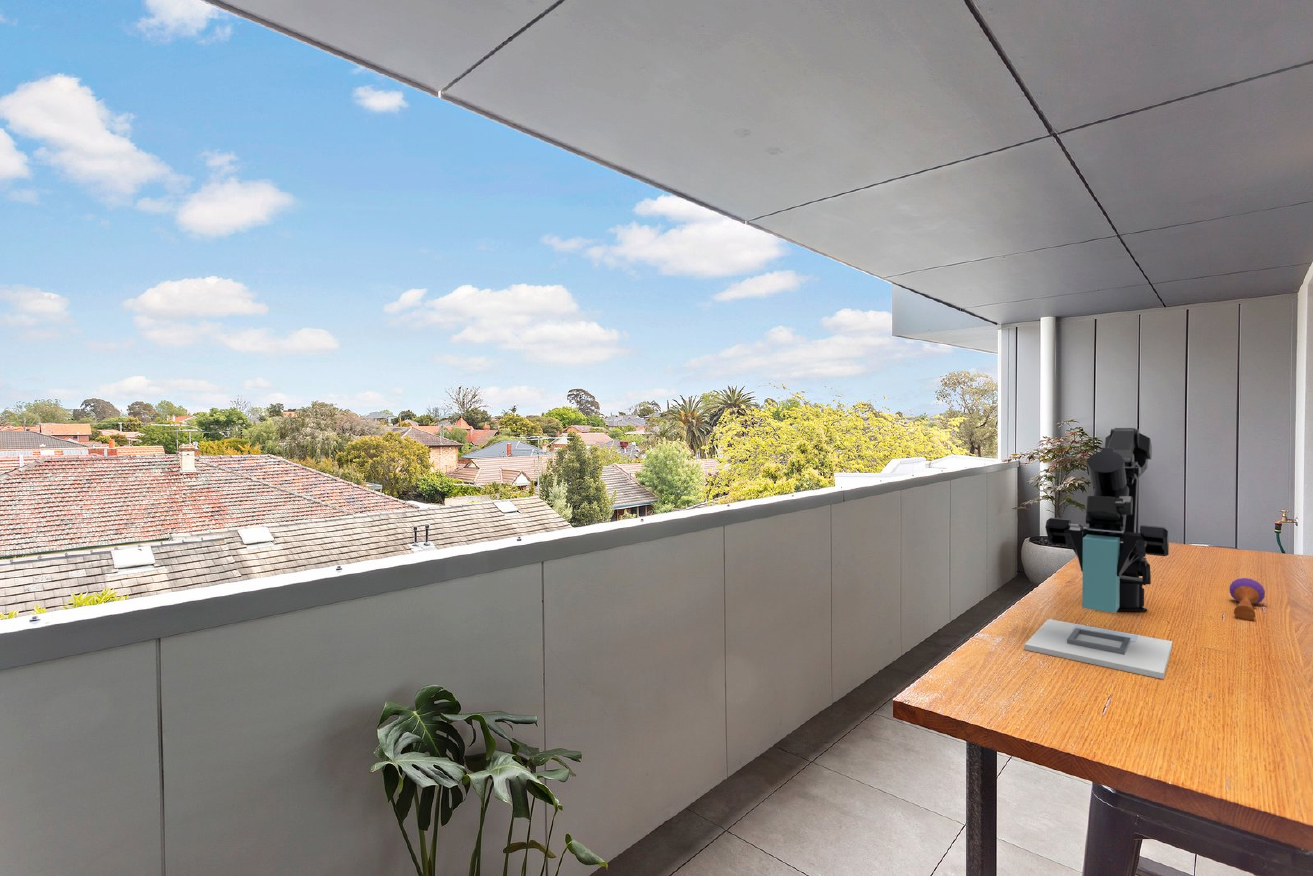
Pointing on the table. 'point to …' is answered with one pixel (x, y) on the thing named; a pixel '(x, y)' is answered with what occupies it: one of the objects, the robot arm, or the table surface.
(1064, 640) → the board
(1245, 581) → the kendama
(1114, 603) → the column
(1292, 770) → the table surface
